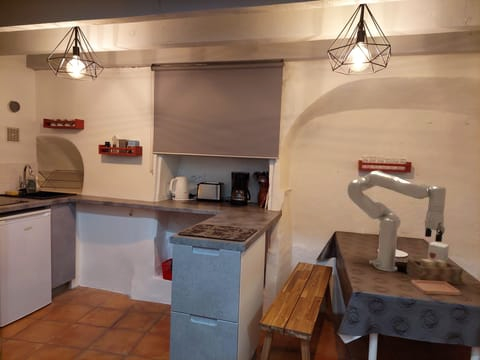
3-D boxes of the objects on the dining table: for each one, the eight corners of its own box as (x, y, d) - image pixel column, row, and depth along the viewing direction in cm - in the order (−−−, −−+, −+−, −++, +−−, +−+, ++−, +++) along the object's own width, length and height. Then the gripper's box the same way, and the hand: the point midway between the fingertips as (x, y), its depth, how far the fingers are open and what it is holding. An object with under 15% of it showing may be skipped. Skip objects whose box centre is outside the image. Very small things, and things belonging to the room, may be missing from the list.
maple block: (424, 272, 178) (425, 261, 177) (420, 269, 182) (421, 258, 182) (446, 273, 178) (447, 262, 177) (441, 270, 182) (442, 259, 182)
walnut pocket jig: (419, 282, 174) (420, 267, 173) (406, 272, 188) (407, 259, 187) (461, 284, 173) (462, 269, 173) (445, 274, 187) (446, 260, 187)
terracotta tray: (424, 293, 159) (424, 290, 159) (410, 283, 172) (410, 279, 172) (460, 295, 159) (461, 291, 159) (444, 284, 172) (444, 281, 172)
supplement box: (426, 267, 197) (428, 243, 196) (430, 264, 204) (432, 241, 202) (443, 271, 191) (445, 247, 190) (447, 268, 197) (449, 244, 196)
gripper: (420, 205, 185) (417, 234, 187) (438, 211, 168) (435, 243, 170) (433, 206, 185) (430, 235, 187) (453, 212, 168) (449, 243, 170)
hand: (433, 239), depth 178 cm, fingers open, 9 cm apart
